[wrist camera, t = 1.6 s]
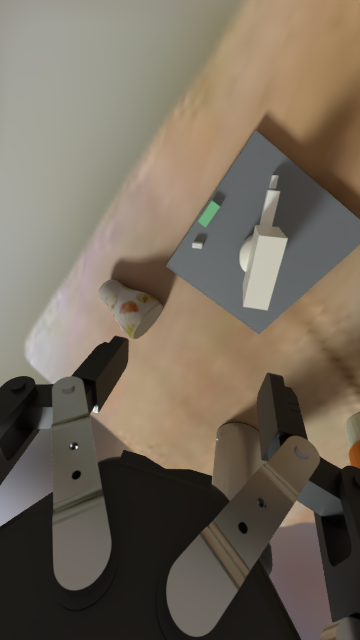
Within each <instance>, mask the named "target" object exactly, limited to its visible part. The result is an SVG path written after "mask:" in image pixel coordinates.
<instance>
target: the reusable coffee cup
mask: <svg viewBox="0 0 360 640" xmlns="http://www.w3.org/2000/svg"><path fill="white" fill-rule="evenodd" d="M345 431H346V435H347V439H348V443H349V447H350V451H349V458H350V462H351V466H355V467H357V468H360V412H359V413H357V414H355V415H353V416H352V417H350V418H349V419H348V421H347V422H346V424H345Z"/></svg>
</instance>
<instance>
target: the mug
mask: <svg viewBox="0 0 360 640" xmlns="http://www.w3.org/2000/svg"><path fill="white" fill-rule="evenodd" d="M99 298H100V300H101V301H103V302H104V303H105V304H106V305H107V306H108V308H109V309H110V310H111V311H112V313H113V315H114V317H115V319H116V321H117V323H118V324H119V326H120V328H121V329H122V331H123V332H124V333H125V334H126V335H128V336H129V337H131V338H133V339H137V338H139V337H141V336H142V335H143V334H145V333H146V332H147V331H148V330H149V329H150V327H151V326H152V325H153V324H154V323H155V321H156V320H157V318H158V317H159V315H160V314H161V312H162V309H163V306H162V304H161V303H160V301H159V300H158V299H156V298H155V297H154V296H152V295H150V294H147V293H144V292H140V291H137V290H133V289H130V288H127V287H125V286H124V285H122V284H121V283H120V282H118V281H117V280H108V281H106V282H105V283H103V285H102V286H101V287H100V289H99Z"/></svg>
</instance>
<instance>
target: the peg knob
mask: <svg viewBox="0 0 360 640" xmlns="http://www.w3.org/2000/svg"><path fill="white" fill-rule="evenodd" d="M279 195H280V191H273V190H267V193H266V198H265V202H264V207H263V211H262V216H261V220H260V225H255V229H254V234H253V235H251V236H249V237H248V238H246V239H245V240H244V242H243V243H242V245H241V247H240V265H241V267H242V269H243V270H244V271H245V277H244V281H243V307H248V308H255V309H261V310H268V307H269V303H270V300H271V296H272V293H273V289H274V286H275V282H276V278H277V275H278V271H279V268H280V264H281V261H282V257H283V254H284V250H285V247H286V243H287V240H288V238H287V237H286V236H285V234H284V233H283V232H282V231H281V230H280V228H279V227H273V226H272V224H273V220H274V215H275V211H276V207H277V203H278V199H279Z"/></svg>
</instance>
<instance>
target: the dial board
mask: <svg viewBox="0 0 360 640" xmlns="http://www.w3.org/2000/svg"><path fill="white" fill-rule="evenodd" d="M267 190H273V191H280V195H279V199H278V203H277V207H276V211H275V215H274V220H273V224H272V226H273V227H279V228H280V230H281V231H282V232H283V233H284V234H285V236H286V237H287V238H288V240H287V243H286V247H285V250H284V254H283V257H282V261H281V264H280V268H279V271H278V275H277V278H276V282H275V286H274V289H273V293H272V296H271V300H270V303H269V307H268V310H261V309H255V308H248V307H243V281H244V277H245V271H244V270H243V269H242V267H241V265H240V247H241V245H242V243H243V242H244V240H245V239H246V238H248V237H249V236H251V235H253V234H254V229H255V225H260V220H261V216H262V211H263V207H264V202H265V198H266V193H267ZM359 245H360V219H358V218H357V217H356V216H355V215H354V214H353V213H351V212H350V211H349V210H348V209H347V208H346V207H345V206H343V205H342V204H341V203H340V202H339V201H338V200H336V199H335V198H334V197H333V196H332V195H331V194H329V193H328V192H327V191H326V190H325V189H324V188H323V187H321V186H320V185H319V184H318V183H317V182H316V181H314V180H313V179H312V178H311V177H310V176H309V175H307V174H306V173H305V172H304V171H303V170H302V169H300V168H299V167H298V166H297V165H296V164H295V163H294V162H292V161H291V160H290V159H289V158H288V157H287V156H285V155H284V154H283V153H282V152H281V151H280V150H278V149H277V148H276V147H275V146H274V145H273V144H272V143H270V142H269V141H268V140H267V139H266V138H265V137H263V136H262V135H261V134H260V133H259V132H258V131H256V130H255V132H254V133H253V135H252V136H251V138H250V139H249V141H248V142H247V144H246V145H245V147H244V148H243V150H242V152H241V153H240V155H239V156H238V158H237V159H236V161H235V162H234V164H233V165H232V167H231V168H230V170H229V171H228V173H227V174H226V176H225V177H224V179H223V180H222V182H221V183H220V185H219V186H218V188H217V189H216V191H215V192H214V194H213V195H212V197H211V198H210V200H209V201H208V203H207V205H206V206H205V208H204V209H203V211H202V212H201V214H200V215H199V217H198V218H197V220H196V221H195V223H194V224H193V226H192V227H191V229H190V230H189V232H188V233H187V235H186V236H185V238H184V239H183V241H182V242H181V244H180V245H179V247H178V248H177V250H176V251H175V253H174V255H173V256H172V258H171V259H170V261H169V262H168V264H167V265H166V267H167V268H169V269H170V270H172V271H173V272H174V273H176V274H177V275H178V276H180V277H181V278H183V279H184V280H185V281H187V282H188V283H189V284H191V285H192V286H194V287H195V288H196V289H198V290H199V291H200V292H202V293H203V294H204V295H206V296H207V297H209V298H210V299H211V300H213V301H214V302H215V303H217V304H218V305H220V306H221V307H222V308H224V309H225V310H226V311H228V312H229V313H231V314H232V315H233V316H235V317H236V318H237V319H239V320H240V321H242V322H243V323H244V324H246V325H247V326H248V327H250V328H251V329H253V330H254V331H255V332H257V333H258V334H259V333H261V332H262V331H263V330H264V329H265V328H266V327H267V326H268V325H270V324H271V323H272V322H273V321H274V320H275V319H276V318H278V317H279V316H280V315H281V314H282V313H283V312H284V311H285V310H287V309H288V308H289V307H290V306H291V305H292V304H293V303H294V302H296V301H297V300H298V299H299V298H300V297H301V296H302V295H303V294H305V293H306V292H307V291H308V290H309V289H310V288H311V287H312V286H314V285H315V284H316V283H317V282H318V281H319V280H320V279H321V278H323V277H324V276H325V275H326V274H327V273H328V272H329V271H330V270H332V269H333V268H334V267H335V266H336V265H337V264H338V263H339V262H341V261H342V260H343V259H344V258H345V257H346V256H347V255H348V254H350V253H351V252H352V251H353V250H354V249H355V248H356V247H357V246H359Z"/></svg>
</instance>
